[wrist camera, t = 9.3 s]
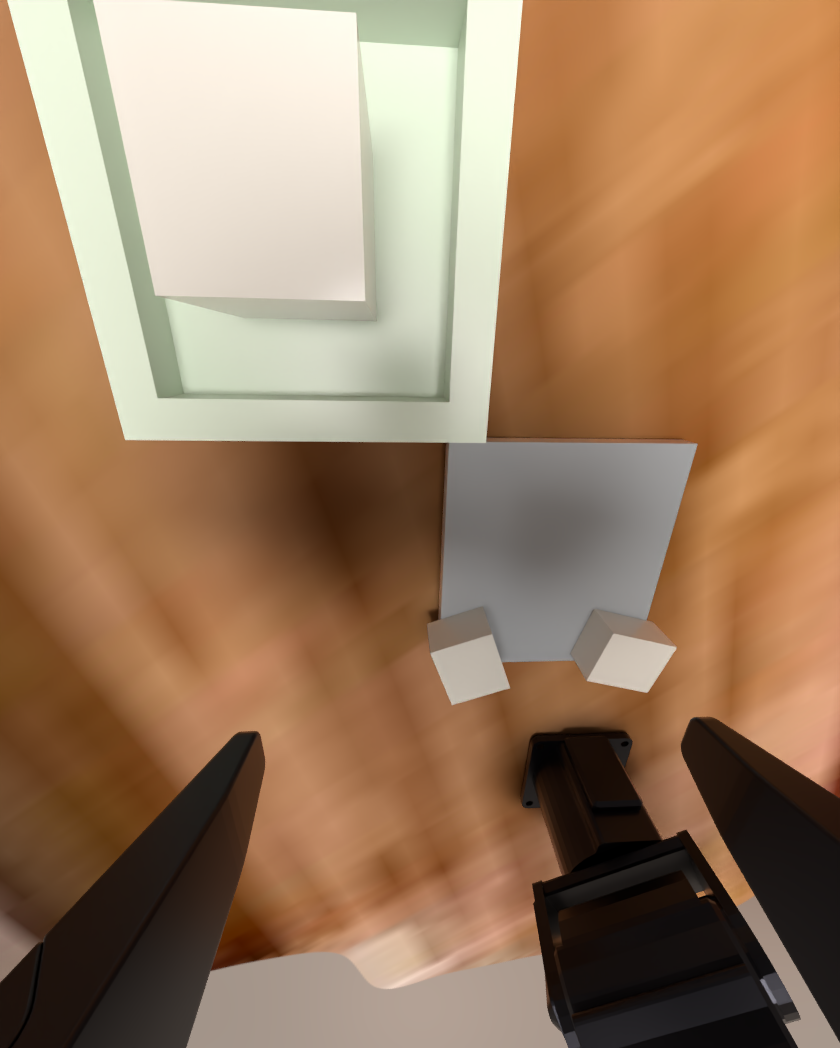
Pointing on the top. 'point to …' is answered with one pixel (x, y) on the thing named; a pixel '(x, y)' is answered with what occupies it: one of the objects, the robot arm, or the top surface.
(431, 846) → the top surface
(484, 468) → the slate board
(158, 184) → the large white cube
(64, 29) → the bin
